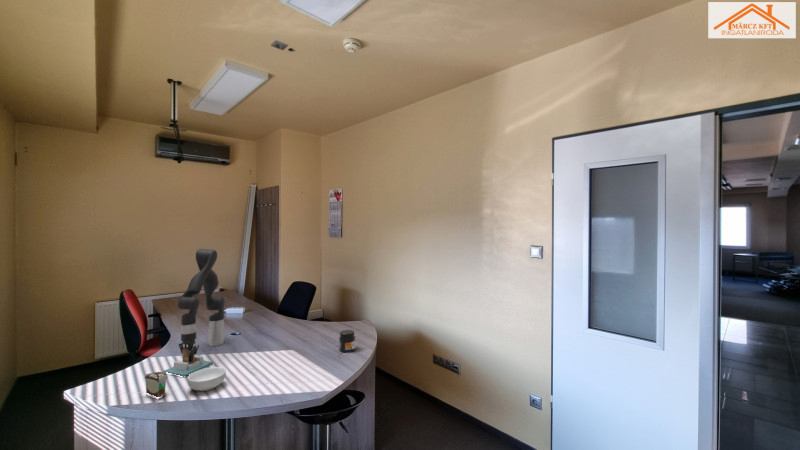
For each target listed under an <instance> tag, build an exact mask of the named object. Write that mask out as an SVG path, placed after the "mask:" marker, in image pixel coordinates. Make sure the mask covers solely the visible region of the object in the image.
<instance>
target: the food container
mask: <svg viewBox="0 0 800 450" xmlns="http://www.w3.org/2000/svg"><path fill="white" fill-rule="evenodd" d="M144 379H145V391H146V393H149V394H151V395H154V396H156V397H161V396H162V395H164V394H165V395H166V387H167V386H166V385H167V380H168V379H169V375H167V374H166V372H163V371H156V372H151V373H147V374H145V375H144ZM146 393H145V394H146ZM165 395H164V396H165Z"/></svg>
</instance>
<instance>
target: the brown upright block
mask: <svg viewBox="0 0 800 450" xmlns="http://www.w3.org/2000/svg"><path fill="white" fill-rule="evenodd" d="M190 350H192V349H190ZM191 353H192V351H191ZM195 356H196V354H194V355H193V361H192V362H189V352H188V348H187V347H186V348H183V354H182V362H187V363H189V364H192V363H194V362H195Z"/></svg>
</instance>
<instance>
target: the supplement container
mask: <svg viewBox="0 0 800 450" xmlns="http://www.w3.org/2000/svg"><path fill="white" fill-rule="evenodd" d="M338 340H339V342H338V343H339V345H338V347H339V348H338V350H339V351H340V352H341V353H347V352H348V353H351V352H354V351H355V350H356V335H355V331H354V330H352V329H343V330H341V331H340V332H339V337H338ZM348 353H347V354H348Z"/></svg>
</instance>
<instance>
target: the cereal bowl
mask: <svg viewBox="0 0 800 450" xmlns="http://www.w3.org/2000/svg"><path fill="white" fill-rule="evenodd" d="M226 372H227V370H226V369H225V368H224V367H220V366H217V367H214V366H213V367H206V368H204V369H201V370H198V371H196V372H194V373H192V374H190V375H189V376H187V384H188V386H189V387H190V389H192V390H193V391H199V390H200V391H199V392H206V391H210V390H213V389H214V388H216V387H218V386H220V385H221V384H222V383H223V381H225V379H226Z"/></svg>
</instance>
